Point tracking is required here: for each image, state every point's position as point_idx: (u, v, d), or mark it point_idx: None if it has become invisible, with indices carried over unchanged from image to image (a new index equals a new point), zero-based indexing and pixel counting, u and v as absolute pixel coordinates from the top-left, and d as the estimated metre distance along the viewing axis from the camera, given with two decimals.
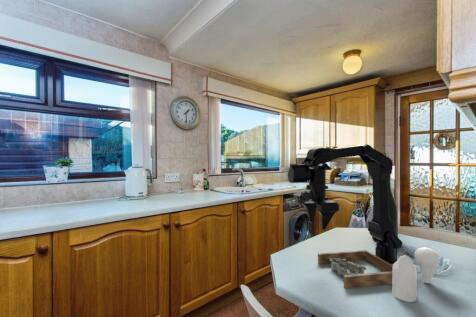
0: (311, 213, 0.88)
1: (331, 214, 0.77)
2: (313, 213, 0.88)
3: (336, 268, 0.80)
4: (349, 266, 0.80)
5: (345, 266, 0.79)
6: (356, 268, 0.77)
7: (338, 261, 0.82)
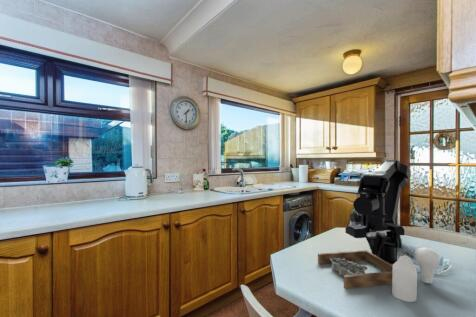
0: None
1: (373, 241, 0.78)
2: None
3: (337, 268, 0.80)
4: (349, 266, 0.81)
5: (346, 266, 0.79)
6: (357, 267, 0.78)
7: (338, 261, 0.82)
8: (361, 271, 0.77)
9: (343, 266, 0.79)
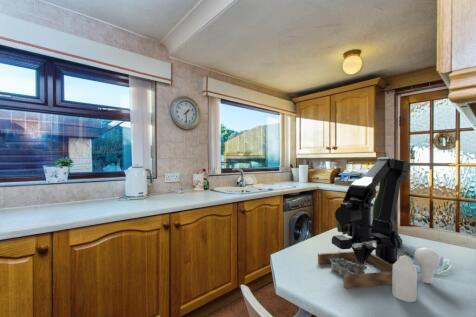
0: None
1: (359, 252, 0.77)
2: None
3: (336, 268, 0.80)
4: (348, 265, 0.81)
5: (345, 266, 0.79)
6: (356, 267, 0.78)
7: (337, 261, 0.82)
8: (360, 271, 0.77)
9: (343, 266, 0.79)
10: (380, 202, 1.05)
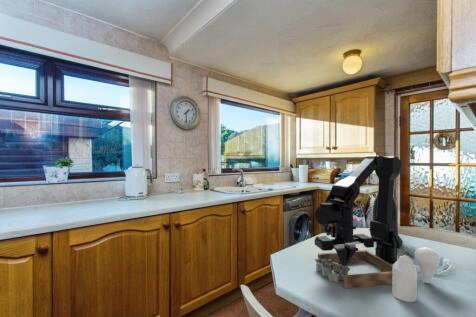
0: None
1: (341, 253, 0.76)
2: None
3: (321, 269, 0.79)
4: (334, 267, 0.80)
5: (330, 267, 0.78)
6: (340, 269, 0.77)
7: (323, 262, 0.82)
8: (345, 272, 0.76)
9: (327, 267, 0.79)
10: None
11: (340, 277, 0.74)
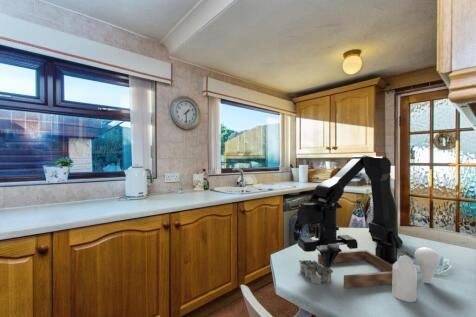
0: None
1: (324, 254, 0.75)
2: (329, 260, 0.76)
3: (305, 270, 0.78)
4: (318, 268, 0.79)
5: (313, 268, 0.77)
6: (324, 271, 0.76)
7: (308, 263, 0.81)
8: None
9: (311, 268, 0.78)
10: None
11: (322, 279, 0.73)
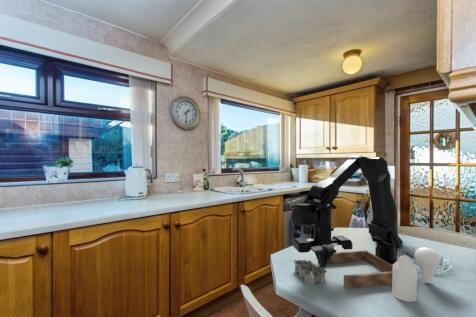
0: None
1: (319, 255, 0.75)
2: (324, 260, 0.76)
3: (299, 270, 0.79)
4: (313, 268, 0.79)
5: (308, 268, 0.77)
6: (318, 271, 0.76)
7: (302, 263, 0.81)
8: None
9: (305, 268, 0.78)
10: None
11: (316, 279, 0.73)
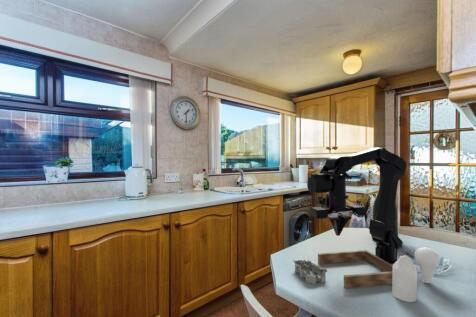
0: None
1: (335, 221, 0.80)
2: None
3: (299, 270, 0.78)
4: (312, 268, 0.79)
5: (308, 268, 0.77)
6: (318, 270, 0.76)
7: (302, 263, 0.81)
8: None
9: (305, 268, 0.78)
10: None
11: (317, 278, 0.73)
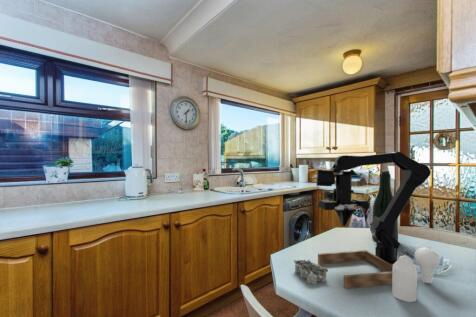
0: None
1: (341, 213, 0.89)
2: (345, 218, 0.91)
3: (300, 270, 0.78)
4: (313, 268, 0.79)
5: (308, 268, 0.77)
6: (319, 270, 0.76)
7: (302, 263, 0.81)
8: (323, 274, 0.75)
9: (306, 268, 0.78)
10: (380, 202, 1.05)
11: (318, 278, 0.73)
